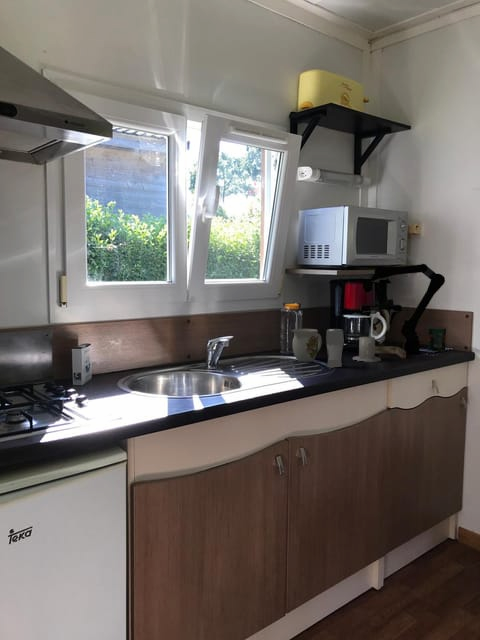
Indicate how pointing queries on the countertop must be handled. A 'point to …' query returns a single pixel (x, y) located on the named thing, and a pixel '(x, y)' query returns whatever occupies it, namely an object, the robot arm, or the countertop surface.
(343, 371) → the countertop surface
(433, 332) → the canned tomato
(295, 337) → the pitcher
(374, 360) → the grey trivet
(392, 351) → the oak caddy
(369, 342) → the cream jug
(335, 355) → the beer glass
